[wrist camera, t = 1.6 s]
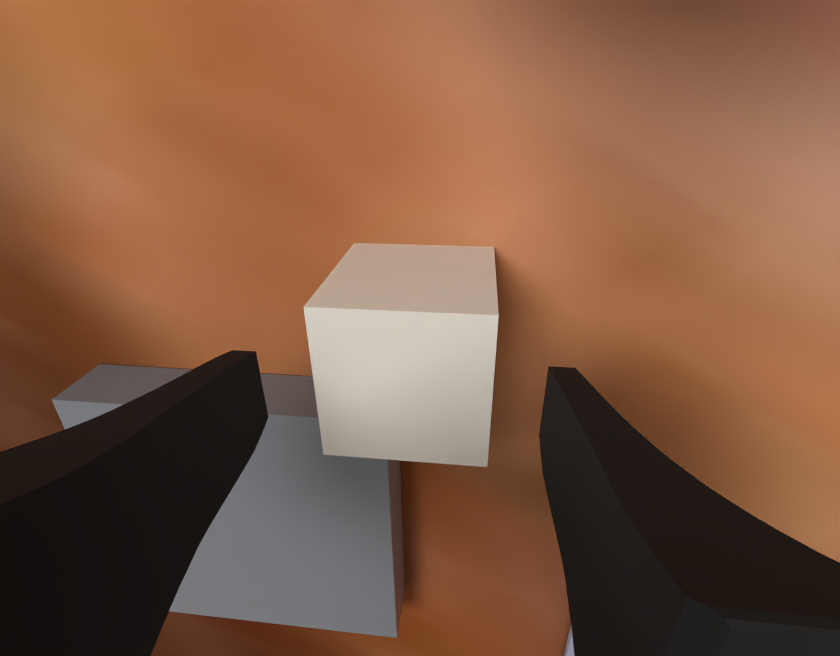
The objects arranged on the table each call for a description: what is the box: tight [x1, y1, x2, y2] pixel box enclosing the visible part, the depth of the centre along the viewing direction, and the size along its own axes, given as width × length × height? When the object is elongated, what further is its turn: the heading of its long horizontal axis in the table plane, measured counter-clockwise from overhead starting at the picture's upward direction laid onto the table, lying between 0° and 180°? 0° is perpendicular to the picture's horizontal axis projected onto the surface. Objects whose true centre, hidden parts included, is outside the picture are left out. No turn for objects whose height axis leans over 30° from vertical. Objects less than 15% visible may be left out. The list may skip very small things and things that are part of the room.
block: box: [304, 243, 499, 467], centre depth 14 cm, size 4×4×5 cm
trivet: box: [52, 364, 405, 638], centre depth 20 cm, size 12×12×2 cm
